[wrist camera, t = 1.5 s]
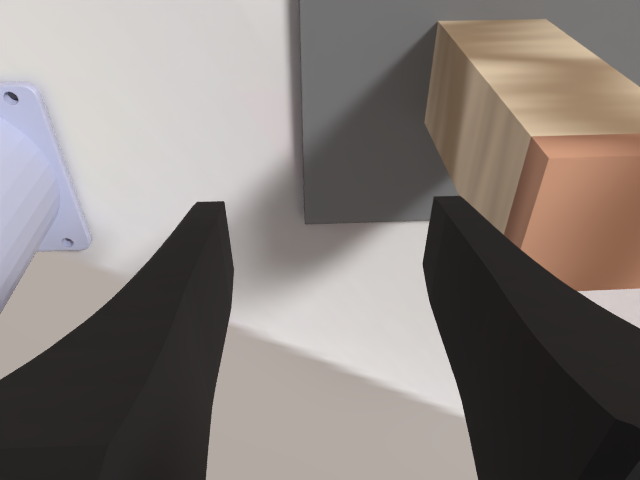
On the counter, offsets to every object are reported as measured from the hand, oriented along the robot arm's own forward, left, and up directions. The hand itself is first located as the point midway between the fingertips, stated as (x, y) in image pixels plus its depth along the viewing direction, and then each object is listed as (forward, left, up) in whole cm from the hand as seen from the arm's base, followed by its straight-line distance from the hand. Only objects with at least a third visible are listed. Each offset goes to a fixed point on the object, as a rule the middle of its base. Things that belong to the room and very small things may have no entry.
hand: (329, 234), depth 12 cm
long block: (+7, 0, -10) cm, 12 cm away
